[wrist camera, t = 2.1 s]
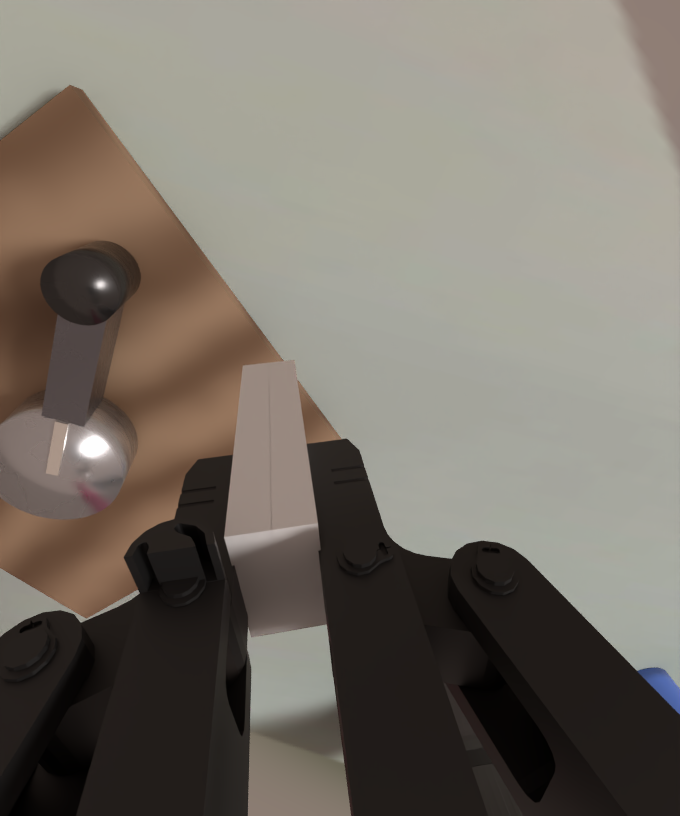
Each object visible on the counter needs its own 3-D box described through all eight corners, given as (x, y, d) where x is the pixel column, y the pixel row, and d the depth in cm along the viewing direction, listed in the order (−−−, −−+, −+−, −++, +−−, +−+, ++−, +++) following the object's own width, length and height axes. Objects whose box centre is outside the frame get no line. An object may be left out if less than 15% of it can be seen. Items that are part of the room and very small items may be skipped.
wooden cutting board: (352, 453, 33) (356, 467, 31) (92, 602, 36) (85, 620, 35) (82, 90, 20) (68, 84, 19) (-277, 375, 24) (-312, 389, 22)
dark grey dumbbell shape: (125, 492, 29) (103, 542, 25) (7, 466, 27) (-37, 517, 23) (188, 268, 23) (172, 290, 19) (40, 210, 20) (-13, 221, 17)
